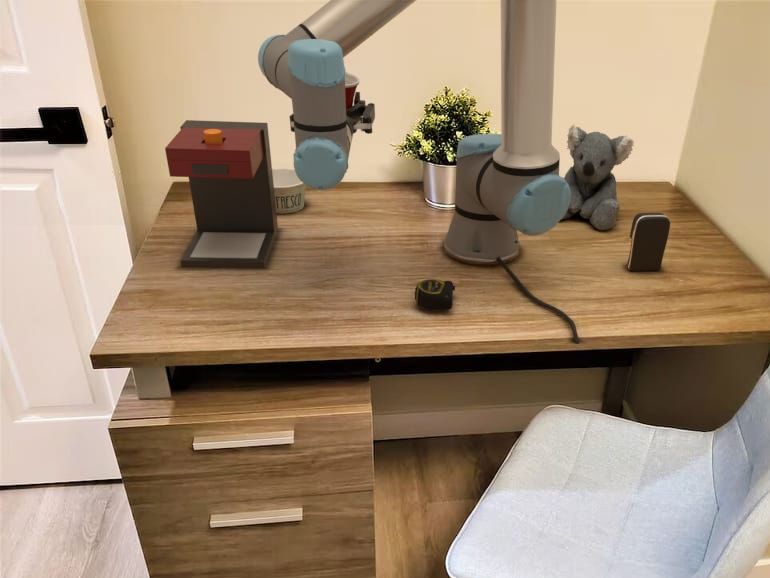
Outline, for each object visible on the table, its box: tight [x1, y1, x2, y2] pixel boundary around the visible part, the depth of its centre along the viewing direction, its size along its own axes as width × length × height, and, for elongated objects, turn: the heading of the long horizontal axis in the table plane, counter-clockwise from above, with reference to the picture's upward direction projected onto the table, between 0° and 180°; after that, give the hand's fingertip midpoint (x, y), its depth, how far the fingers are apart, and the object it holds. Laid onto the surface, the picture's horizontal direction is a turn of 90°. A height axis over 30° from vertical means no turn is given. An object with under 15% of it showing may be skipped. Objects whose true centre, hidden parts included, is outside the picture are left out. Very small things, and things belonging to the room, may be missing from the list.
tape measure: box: [414, 278, 456, 312], centre depth 128 cm, size 7×7×4 cm
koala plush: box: [561, 124, 635, 231], centre depth 165 cm, size 17×18×20 cm
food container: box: [272, 167, 307, 214], centre depth 162 cm, size 12×12×6 cm
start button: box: [203, 129, 223, 144], centre depth 129 cm, size 3×3×2 cm
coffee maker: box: [164, 119, 279, 269], centre depth 138 cm, size 18×15×22 cm
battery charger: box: [626, 211, 671, 272], centre depth 144 cm, size 7×4×11 cm, turn 100°
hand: (338, 98), depth 136 cm, fingers closed on plastic cup, 6 cm apart
